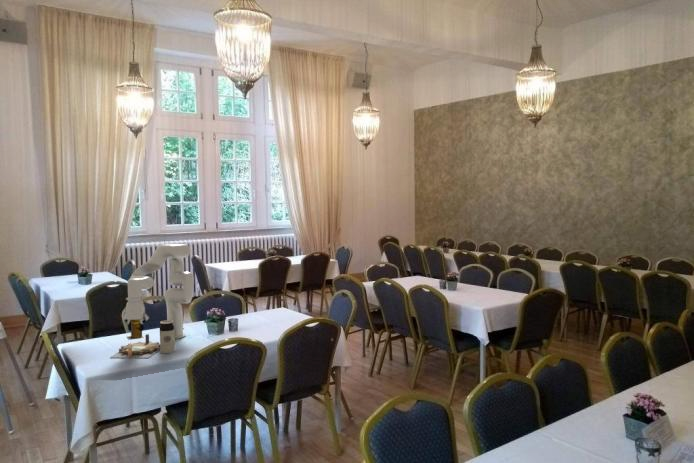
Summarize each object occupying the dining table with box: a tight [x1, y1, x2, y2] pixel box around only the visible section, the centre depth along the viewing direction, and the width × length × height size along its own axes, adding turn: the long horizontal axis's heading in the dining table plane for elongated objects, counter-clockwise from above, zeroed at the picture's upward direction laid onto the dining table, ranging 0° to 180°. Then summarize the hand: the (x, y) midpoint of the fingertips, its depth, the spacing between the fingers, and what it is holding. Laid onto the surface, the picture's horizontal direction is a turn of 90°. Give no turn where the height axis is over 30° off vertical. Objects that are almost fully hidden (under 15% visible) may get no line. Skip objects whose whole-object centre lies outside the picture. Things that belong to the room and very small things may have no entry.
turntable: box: [118, 333, 160, 354], centre depth 320 cm, size 23×23×7 cm
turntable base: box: [109, 348, 160, 360], centre depth 318 cm, size 26×22×6 cm
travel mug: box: [159, 319, 176, 355], centre depth 317 cm, size 8×8×18 cm
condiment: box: [126, 320, 144, 341], centre depth 315 cm, size 7×8×12 cm
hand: (136, 330), depth 315 cm, fingers closed on condiment, 6 cm apart
